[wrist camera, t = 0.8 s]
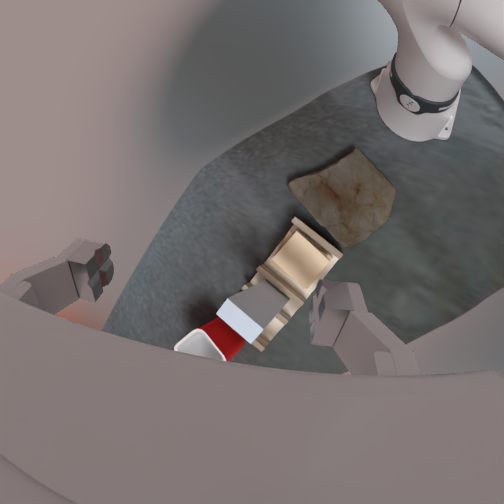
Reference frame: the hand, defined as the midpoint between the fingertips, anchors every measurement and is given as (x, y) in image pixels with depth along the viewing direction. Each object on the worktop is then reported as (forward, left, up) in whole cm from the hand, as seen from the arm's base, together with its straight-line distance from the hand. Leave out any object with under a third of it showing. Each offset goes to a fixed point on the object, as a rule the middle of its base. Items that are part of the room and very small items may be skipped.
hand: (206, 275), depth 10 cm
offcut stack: (+2, 0, -41) cm, 41 cm away
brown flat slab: (-12, -1, -43) cm, 45 cm away
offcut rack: (+8, 0, -43) cm, 43 cm away
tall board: (+10, 0, -41) cm, 42 cm away
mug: (+27, -3, -43) cm, 51 cm away
